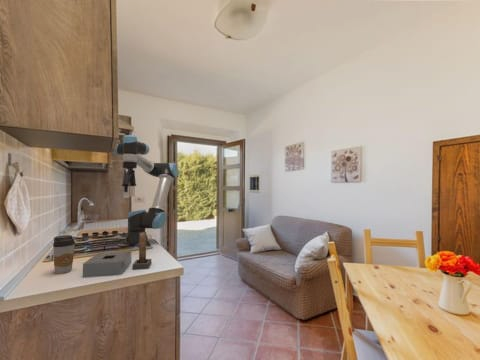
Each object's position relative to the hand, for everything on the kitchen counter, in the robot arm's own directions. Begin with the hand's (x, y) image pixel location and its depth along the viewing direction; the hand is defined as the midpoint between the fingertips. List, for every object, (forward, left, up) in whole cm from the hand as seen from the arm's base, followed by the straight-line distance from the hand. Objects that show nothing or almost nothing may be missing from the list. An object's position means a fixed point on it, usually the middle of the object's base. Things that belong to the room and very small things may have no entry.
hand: (129, 197), depth 131 cm
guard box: (+23, -3, -34) cm, 41 cm away
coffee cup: (+22, -23, -35) cm, 47 cm away
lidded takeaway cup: (-1, -35, -35) cm, 49 cm away
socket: (+22, +12, -34) cm, 42 cm away
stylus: (+22, +12, -34) cm, 42 cm away
